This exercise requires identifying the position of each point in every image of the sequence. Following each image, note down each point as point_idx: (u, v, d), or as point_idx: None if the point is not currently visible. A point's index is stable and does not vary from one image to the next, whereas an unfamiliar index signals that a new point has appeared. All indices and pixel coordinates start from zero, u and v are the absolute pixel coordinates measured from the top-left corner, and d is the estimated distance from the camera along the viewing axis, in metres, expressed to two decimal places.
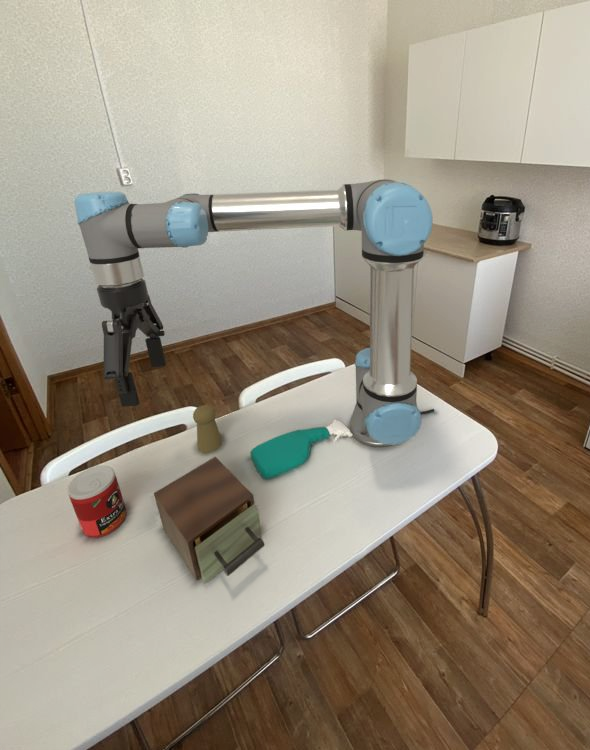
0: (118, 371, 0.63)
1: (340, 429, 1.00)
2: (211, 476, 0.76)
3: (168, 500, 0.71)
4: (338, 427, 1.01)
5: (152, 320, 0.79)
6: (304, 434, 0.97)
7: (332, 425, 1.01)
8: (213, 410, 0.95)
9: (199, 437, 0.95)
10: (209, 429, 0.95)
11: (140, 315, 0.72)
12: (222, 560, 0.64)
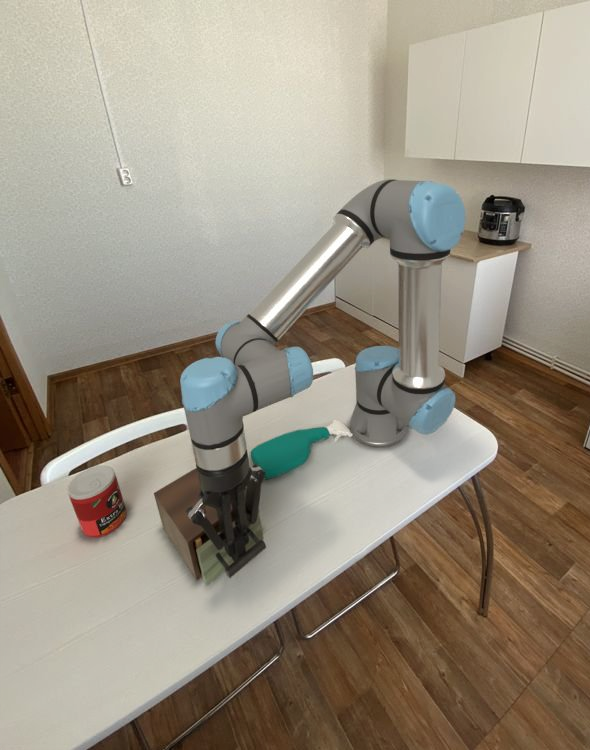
0: (216, 546, 0.61)
1: (340, 429, 1.00)
2: None
3: (168, 500, 0.71)
4: (338, 427, 1.01)
5: (250, 504, 0.65)
6: (304, 434, 0.97)
7: (332, 425, 1.01)
8: None
9: None
10: None
11: None
12: (224, 562, 0.64)
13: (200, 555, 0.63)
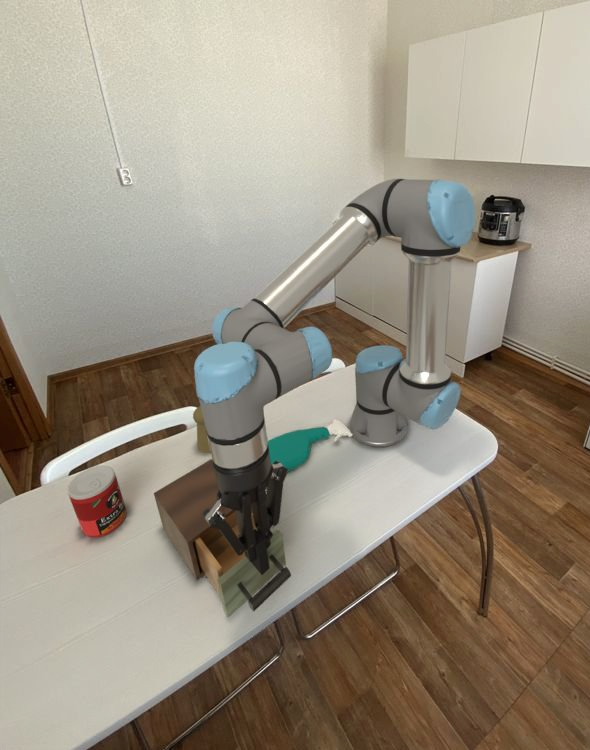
0: (236, 552, 0.55)
1: (340, 429, 1.00)
2: (211, 476, 0.76)
3: (168, 500, 0.71)
4: (338, 427, 1.01)
5: (271, 504, 0.59)
6: (304, 434, 0.97)
7: (332, 425, 1.01)
8: None
9: (199, 437, 0.95)
10: None
11: None
12: (247, 593, 0.59)
13: (221, 586, 0.58)
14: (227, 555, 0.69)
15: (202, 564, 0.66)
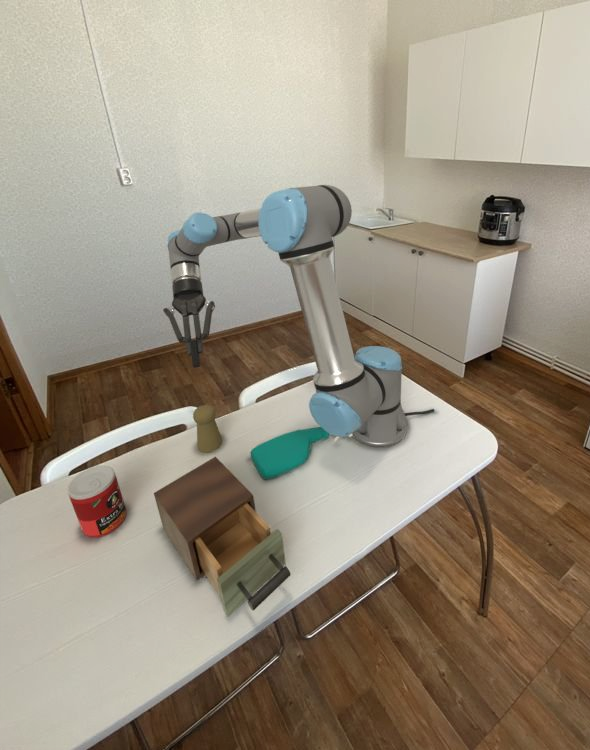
0: (176, 336, 0.98)
1: None
2: (211, 476, 0.76)
3: (168, 500, 0.71)
4: None
5: None
6: (304, 434, 0.97)
7: None
8: (213, 410, 0.95)
9: (199, 437, 0.95)
10: (209, 429, 0.95)
11: None
12: (246, 592, 0.59)
13: (221, 585, 0.58)
14: (227, 554, 0.69)
15: (202, 563, 0.66)
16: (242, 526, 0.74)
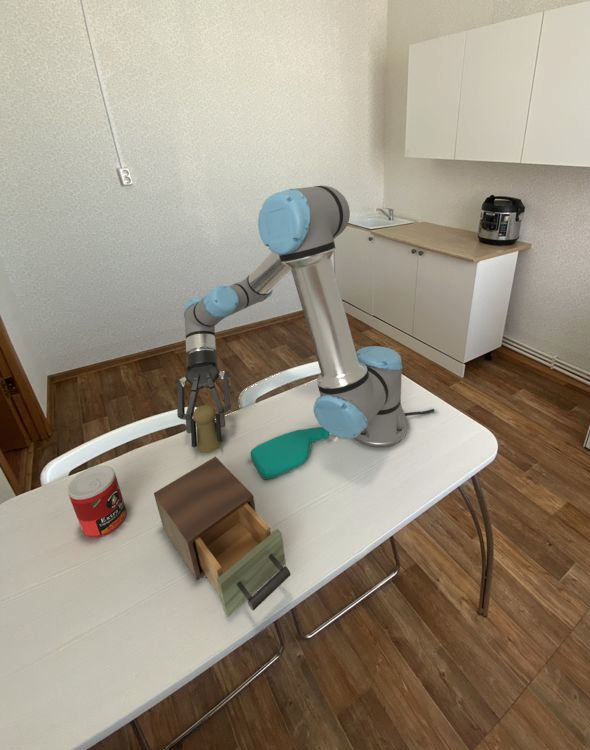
0: (177, 413, 0.94)
1: None
2: (211, 476, 0.76)
3: (168, 500, 0.71)
4: None
5: None
6: (304, 434, 0.97)
7: None
8: (213, 410, 0.95)
9: (199, 437, 0.95)
10: (209, 429, 0.95)
11: None
12: (246, 592, 0.59)
13: (221, 585, 0.58)
14: (227, 554, 0.69)
15: (202, 563, 0.66)
16: (242, 526, 0.74)
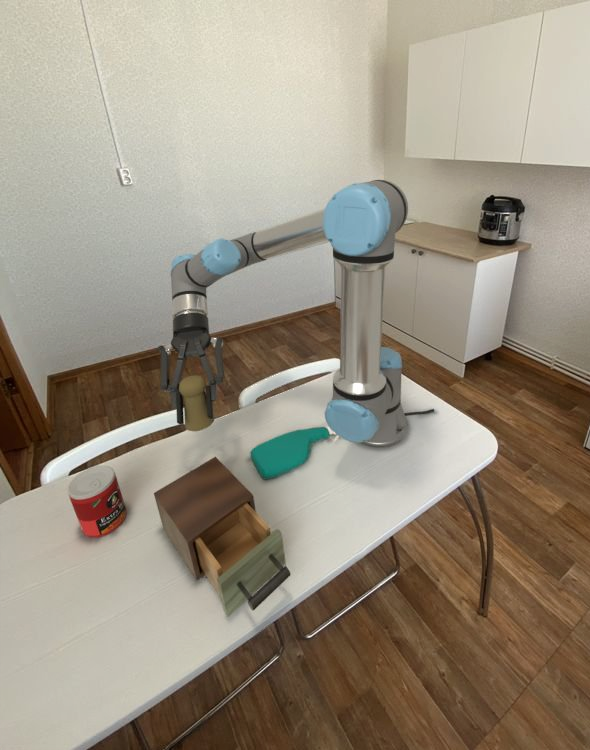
0: (161, 384, 0.80)
1: None
2: (211, 476, 0.76)
3: (168, 500, 0.71)
4: None
5: None
6: (304, 434, 0.97)
7: None
8: (203, 381, 0.81)
9: (186, 413, 0.80)
10: (198, 404, 0.80)
11: None
12: (246, 592, 0.59)
13: (221, 585, 0.58)
14: (227, 554, 0.69)
15: (202, 563, 0.66)
16: (242, 526, 0.74)
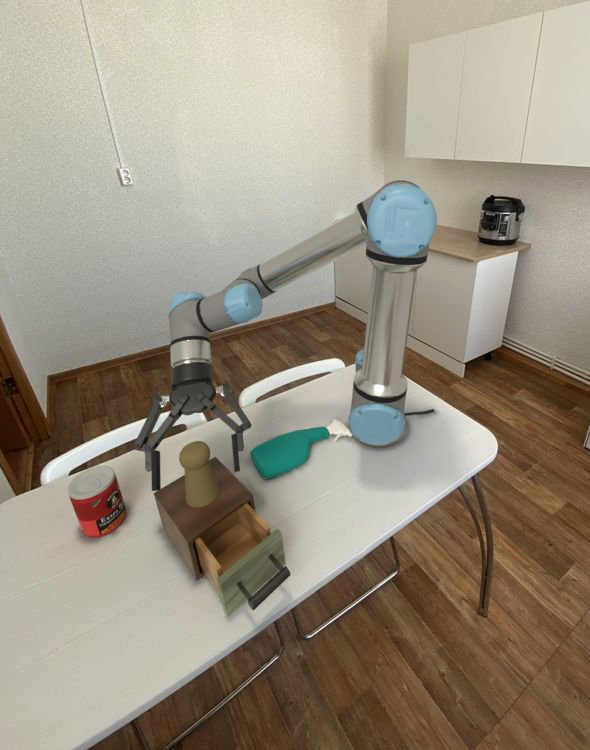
0: None
1: (340, 429, 1.00)
2: None
3: (168, 500, 0.71)
4: (338, 427, 1.01)
5: (236, 413, 0.74)
6: (304, 434, 0.97)
7: (332, 425, 1.01)
8: (207, 449, 0.69)
9: (188, 486, 0.69)
10: (202, 476, 0.69)
11: (198, 399, 0.73)
12: (246, 592, 0.59)
13: (221, 585, 0.58)
14: (227, 554, 0.69)
15: (202, 563, 0.66)
16: (242, 526, 0.74)
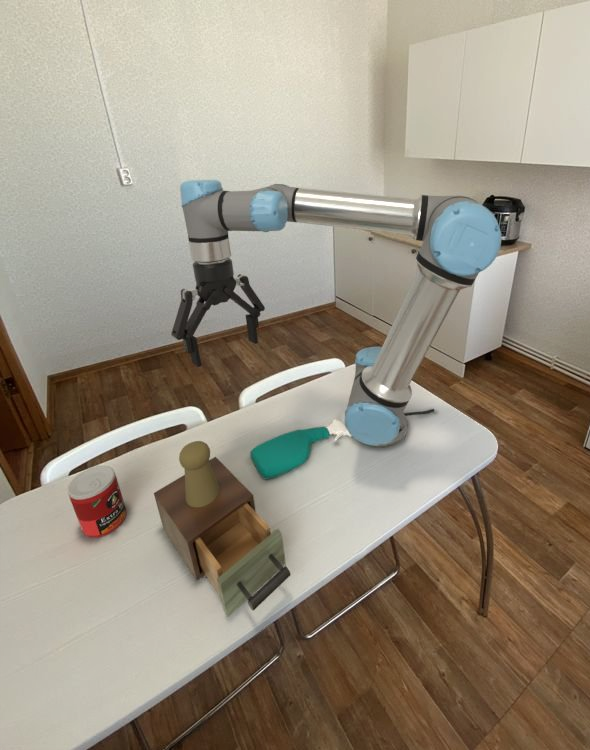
0: (177, 333, 0.74)
1: (340, 429, 1.00)
2: None
3: (168, 500, 0.71)
4: (338, 427, 1.01)
5: (252, 300, 0.86)
6: (304, 434, 0.97)
7: (332, 425, 1.01)
8: (207, 449, 0.69)
9: (188, 486, 0.69)
10: (202, 476, 0.69)
11: (225, 292, 0.79)
12: (246, 592, 0.59)
13: (221, 585, 0.58)
14: (227, 554, 0.69)
15: (202, 563, 0.66)
16: (242, 526, 0.74)
